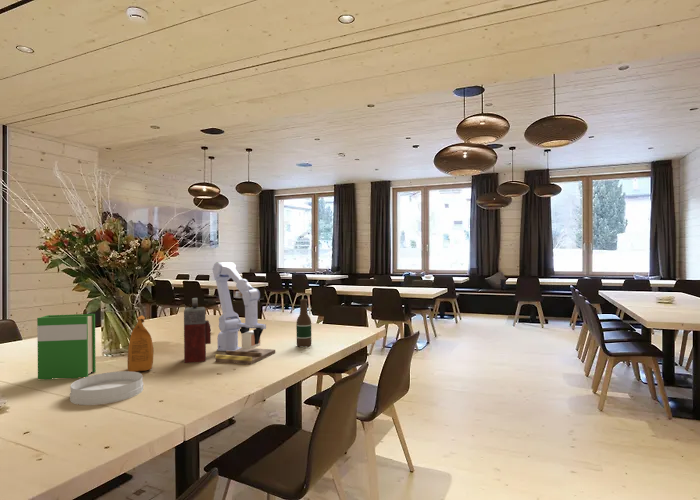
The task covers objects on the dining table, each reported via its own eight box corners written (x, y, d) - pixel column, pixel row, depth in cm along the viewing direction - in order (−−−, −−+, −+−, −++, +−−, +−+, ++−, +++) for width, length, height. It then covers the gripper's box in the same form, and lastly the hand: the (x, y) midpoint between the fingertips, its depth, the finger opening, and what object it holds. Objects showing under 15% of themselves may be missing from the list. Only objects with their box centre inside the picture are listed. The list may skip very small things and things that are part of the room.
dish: (127, 380, 162) (127, 367, 162) (155, 392, 148) (154, 378, 148) (59, 396, 145) (59, 382, 145) (84, 411, 131) (83, 395, 131)
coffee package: (154, 364, 185) (154, 314, 185) (153, 371, 173) (152, 318, 173) (129, 367, 181) (128, 315, 181) (125, 374, 170) (125, 319, 170)
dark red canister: (211, 360, 190) (210, 298, 190) (184, 363, 186) (183, 299, 186) (211, 356, 198) (210, 296, 198) (185, 358, 195) (184, 297, 195)
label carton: (251, 349, 195) (251, 334, 195) (241, 348, 197) (241, 333, 197) (261, 345, 204) (260, 330, 204) (251, 344, 205) (251, 330, 205)
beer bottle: (293, 346, 217) (293, 299, 217) (302, 343, 224) (301, 298, 224) (306, 347, 213) (305, 300, 213) (314, 344, 220) (314, 298, 220)
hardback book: (95, 372, 173) (95, 313, 174) (87, 377, 166) (86, 316, 166) (48, 374, 171) (48, 315, 171) (37, 380, 164) (37, 318, 164)
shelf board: (215, 361, 188) (215, 354, 188) (242, 350, 209) (242, 344, 209) (251, 364, 183) (251, 357, 183) (275, 352, 204) (275, 346, 204)
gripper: (233, 315, 199) (233, 344, 199) (260, 316, 194) (260, 346, 194) (241, 313, 205) (241, 341, 205) (268, 314, 201) (268, 342, 201)
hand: (251, 343), depth 200 cm, fingers closed on label carton, 5 cm apart
